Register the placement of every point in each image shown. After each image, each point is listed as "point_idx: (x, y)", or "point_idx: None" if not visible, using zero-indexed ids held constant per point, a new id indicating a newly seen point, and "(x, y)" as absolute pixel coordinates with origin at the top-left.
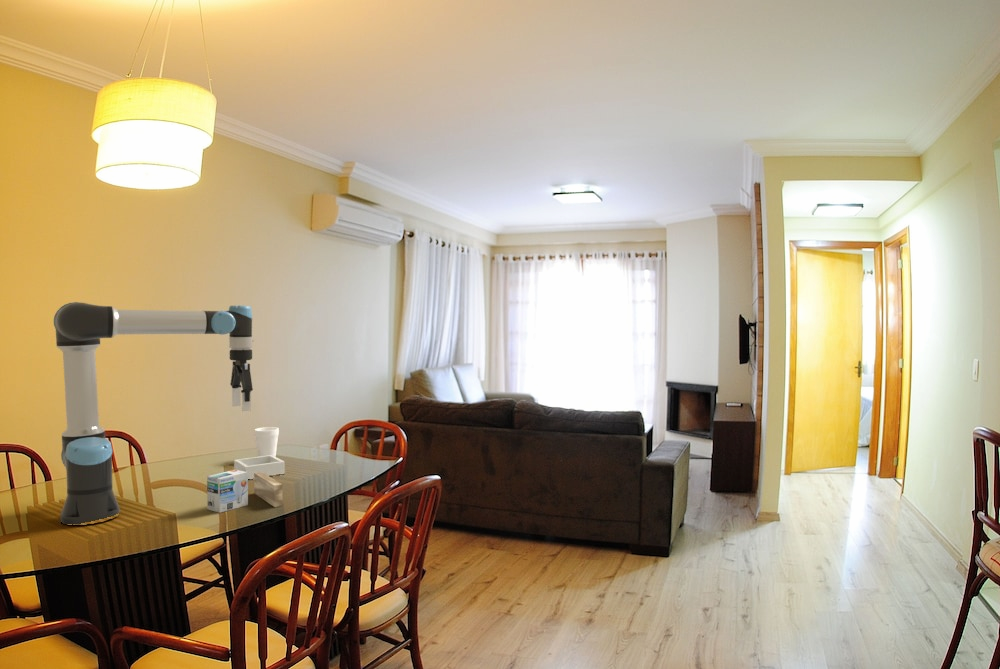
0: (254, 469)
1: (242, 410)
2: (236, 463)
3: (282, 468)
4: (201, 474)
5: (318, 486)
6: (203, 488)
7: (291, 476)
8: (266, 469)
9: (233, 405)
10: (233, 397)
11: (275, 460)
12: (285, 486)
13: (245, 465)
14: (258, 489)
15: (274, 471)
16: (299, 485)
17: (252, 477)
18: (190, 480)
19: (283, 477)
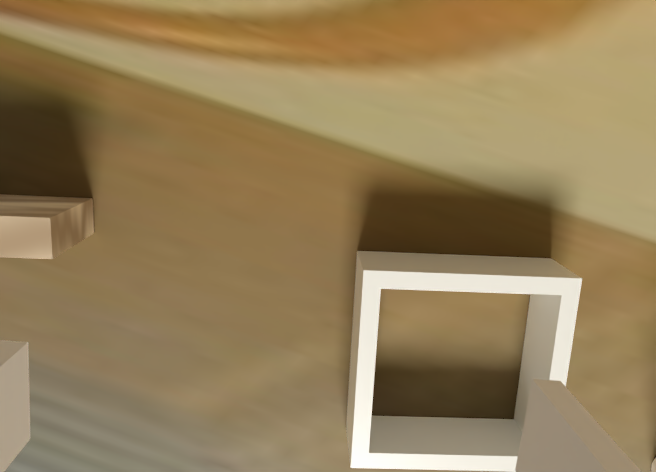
0: (359, 308)
1: (5, 344)
2: (532, 273)
3: (348, 436)
4: (641, 115)
5: (43, 461)
6: (344, 30)
7: (295, 439)
8: (354, 363)
9: (536, 392)
10: (589, 461)
11: (444, 449)
12: (131, 353)
13: (402, 281)
14: (13, 201)
15: (350, 394)
16: (111, 406)
17: (355, 284)
18: (555, 28)
19: (300, 405)
